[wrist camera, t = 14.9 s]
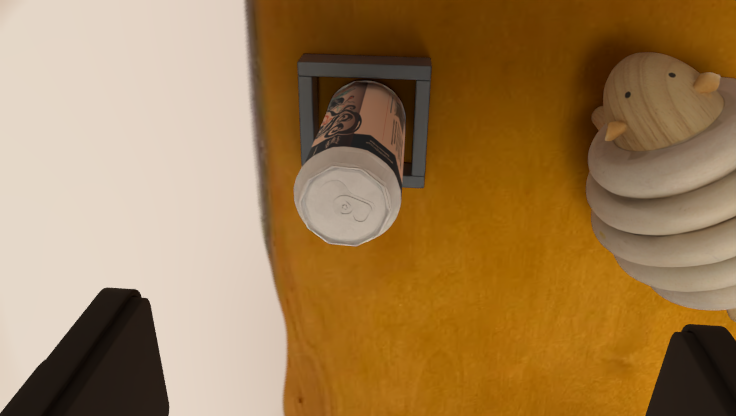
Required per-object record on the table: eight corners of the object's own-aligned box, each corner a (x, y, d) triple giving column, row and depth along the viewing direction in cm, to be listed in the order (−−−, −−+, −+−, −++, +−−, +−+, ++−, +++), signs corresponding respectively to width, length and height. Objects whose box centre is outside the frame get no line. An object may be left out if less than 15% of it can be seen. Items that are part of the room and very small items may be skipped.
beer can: (344, 65, 35) (311, 138, 24) (418, 96, 36) (418, 181, 25) (316, 136, 37) (275, 231, 27) (387, 165, 38) (374, 270, 27)
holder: (303, 53, 35) (297, 61, 33) (430, 57, 34) (431, 66, 33) (307, 170, 38) (302, 183, 37) (423, 175, 38) (424, 188, 36)
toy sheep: (685, -21, 32) (805, 17, 22) (800, 213, 37) (937, 328, 27) (509, 93, 35) (544, 169, 25) (638, 292, 41) (708, 418, 31)
